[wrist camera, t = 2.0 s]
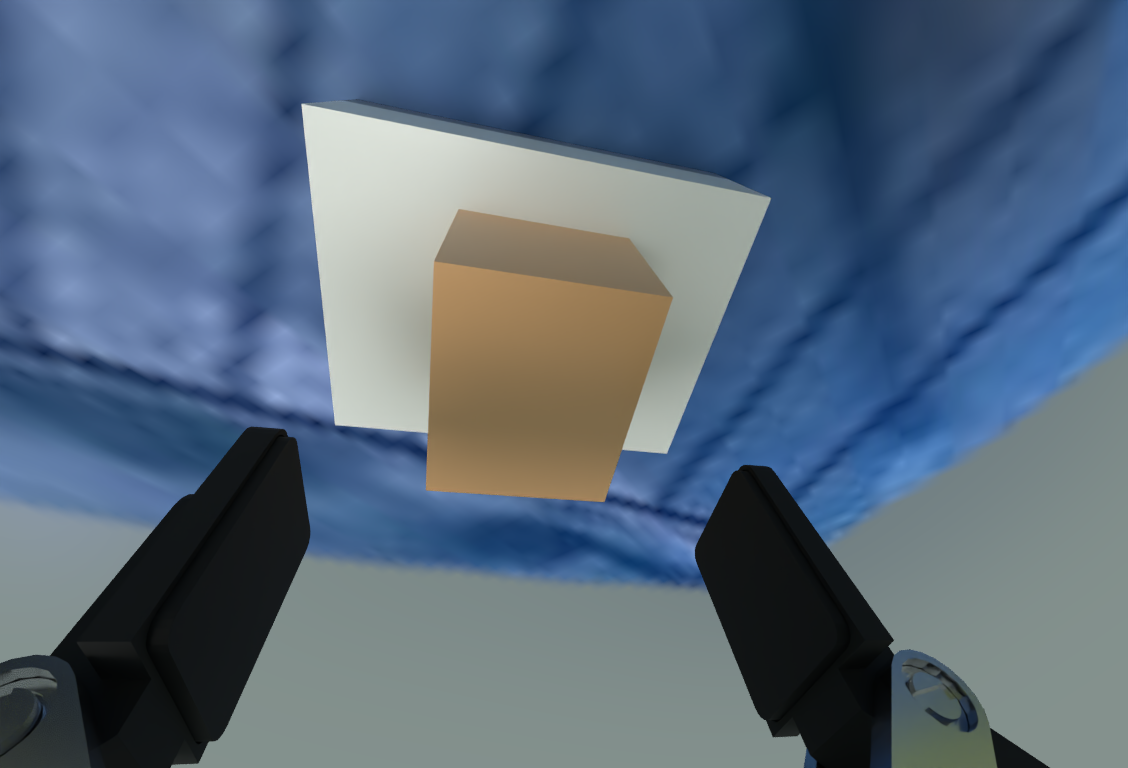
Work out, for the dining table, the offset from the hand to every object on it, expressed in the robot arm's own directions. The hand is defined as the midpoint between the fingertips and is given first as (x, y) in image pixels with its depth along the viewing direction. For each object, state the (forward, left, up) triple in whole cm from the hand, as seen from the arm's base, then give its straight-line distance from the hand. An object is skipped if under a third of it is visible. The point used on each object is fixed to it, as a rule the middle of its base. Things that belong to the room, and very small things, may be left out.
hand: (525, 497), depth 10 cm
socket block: (0, -1, -13) cm, 13 cm away
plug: (0, -1, -11) cm, 11 cm away
